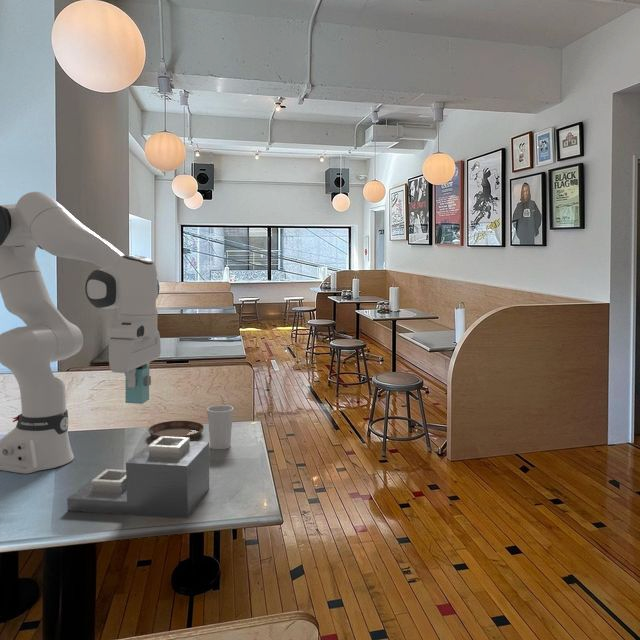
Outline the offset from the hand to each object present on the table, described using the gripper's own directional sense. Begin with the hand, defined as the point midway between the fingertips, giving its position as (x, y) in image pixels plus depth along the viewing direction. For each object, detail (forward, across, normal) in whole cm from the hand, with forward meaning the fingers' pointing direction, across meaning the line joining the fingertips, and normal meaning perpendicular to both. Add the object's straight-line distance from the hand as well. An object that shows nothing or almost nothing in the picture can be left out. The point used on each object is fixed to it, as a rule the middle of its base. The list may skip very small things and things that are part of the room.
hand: (137, 384), depth 124 cm
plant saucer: (+29, -46, -7) cm, 55 cm away
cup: (+28, -38, +10) cm, 49 cm away
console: (+28, +1, +2) cm, 28 cm away
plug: (+4, 0, 0) cm, 4 cm away
